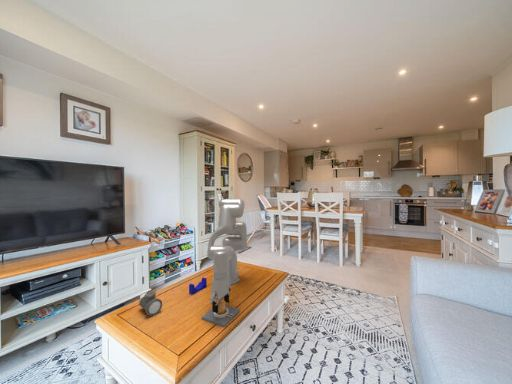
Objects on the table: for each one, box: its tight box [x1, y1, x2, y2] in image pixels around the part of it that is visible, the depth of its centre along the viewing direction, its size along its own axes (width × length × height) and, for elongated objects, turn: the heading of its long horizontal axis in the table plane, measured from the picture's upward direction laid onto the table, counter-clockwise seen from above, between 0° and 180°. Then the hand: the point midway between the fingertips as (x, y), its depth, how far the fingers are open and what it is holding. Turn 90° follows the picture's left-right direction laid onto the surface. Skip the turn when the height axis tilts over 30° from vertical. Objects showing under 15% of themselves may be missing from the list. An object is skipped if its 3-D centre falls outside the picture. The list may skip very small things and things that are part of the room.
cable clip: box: [188, 276, 208, 296], centre depth 131 cm, size 12×4×6 cm, turn 148°
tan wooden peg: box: [217, 297, 226, 315], centre depth 104 cm, size 4×4×8 cm
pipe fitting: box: [138, 290, 163, 317], centre depth 108 cm, size 12×8×10 cm
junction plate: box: [201, 304, 240, 328], centre depth 104 cm, size 14×14×2 cm
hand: (221, 306), depth 104 cm, fingers open, 9 cm apart
